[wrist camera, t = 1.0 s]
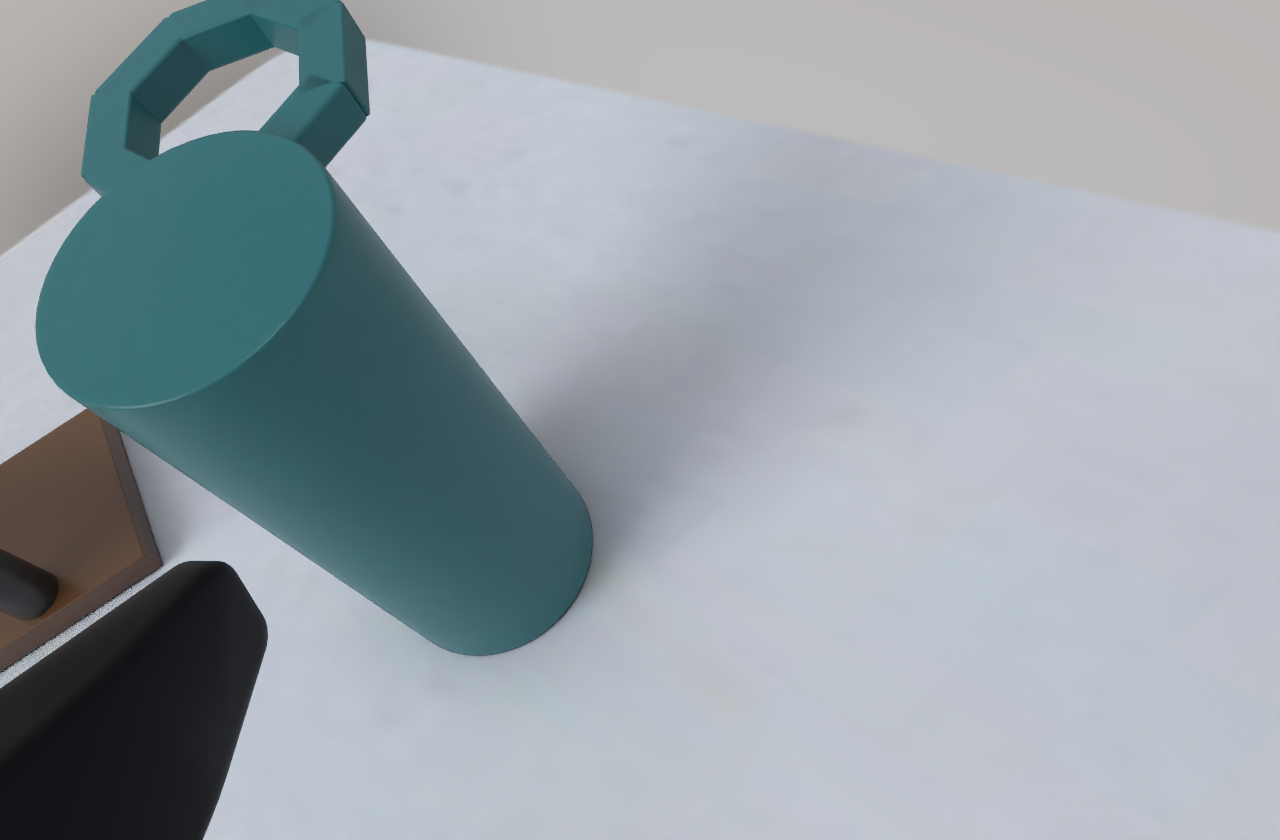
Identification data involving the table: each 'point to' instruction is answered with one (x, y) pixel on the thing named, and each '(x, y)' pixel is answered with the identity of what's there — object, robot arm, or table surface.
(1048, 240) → the table surface
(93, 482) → the peg stand
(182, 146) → the jug
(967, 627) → the table surface
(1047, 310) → the table surface
